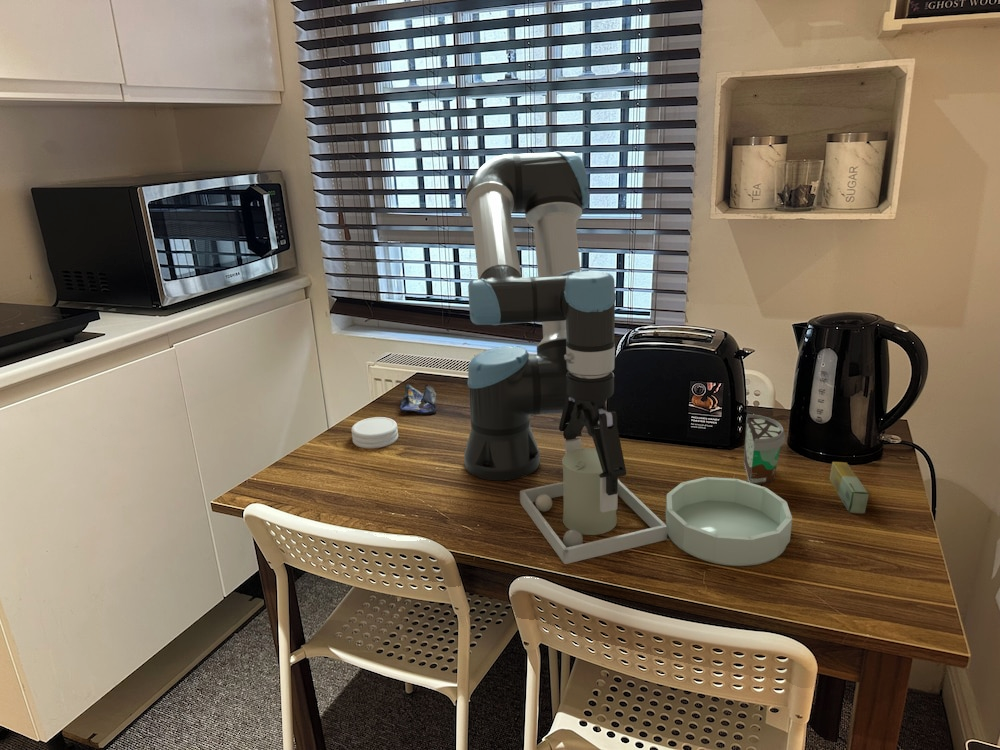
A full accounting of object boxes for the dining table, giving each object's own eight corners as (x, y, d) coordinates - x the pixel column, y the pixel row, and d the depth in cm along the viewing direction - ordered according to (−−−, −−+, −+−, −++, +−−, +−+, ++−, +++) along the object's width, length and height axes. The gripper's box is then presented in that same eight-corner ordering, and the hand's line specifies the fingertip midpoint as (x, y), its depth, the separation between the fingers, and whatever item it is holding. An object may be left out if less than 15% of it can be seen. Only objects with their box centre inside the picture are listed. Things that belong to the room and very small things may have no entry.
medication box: (866, 514, 119) (870, 493, 118) (849, 513, 120) (852, 493, 118) (843, 480, 131) (846, 461, 129) (828, 479, 131) (831, 460, 130)
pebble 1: (532, 508, 125) (532, 493, 124) (548, 504, 126) (548, 489, 125) (539, 516, 123) (538, 501, 122) (555, 512, 124) (554, 497, 123)
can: (551, 522, 121) (550, 459, 117) (583, 501, 127) (583, 440, 123) (596, 542, 115) (596, 476, 111) (627, 518, 121) (628, 455, 117)
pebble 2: (559, 545, 114) (559, 528, 113) (578, 540, 115) (577, 523, 114) (567, 555, 111) (567, 538, 110) (586, 551, 112) (586, 534, 111)
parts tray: (520, 502, 127) (519, 490, 126) (610, 483, 132) (610, 472, 132) (564, 564, 109) (564, 550, 109) (666, 539, 115) (667, 526, 114)
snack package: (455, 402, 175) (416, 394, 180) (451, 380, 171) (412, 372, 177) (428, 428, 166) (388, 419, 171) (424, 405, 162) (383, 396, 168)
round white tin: (345, 438, 157) (343, 424, 155) (385, 426, 162) (383, 412, 161) (365, 454, 149) (363, 439, 148) (406, 440, 155) (405, 426, 153)
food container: (786, 492, 127) (792, 441, 124) (750, 490, 128) (755, 440, 125) (775, 461, 138) (780, 414, 135) (742, 459, 140) (746, 412, 136)
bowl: (644, 514, 122) (645, 490, 120) (738, 493, 127) (740, 469, 126) (708, 577, 105) (710, 550, 103) (814, 550, 110) (817, 523, 109)
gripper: (538, 352, 122) (541, 464, 129) (604, 400, 99) (603, 532, 106) (578, 347, 124) (579, 456, 131) (651, 392, 101) (647, 522, 108)
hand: (590, 491), depth 118 cm, fingers open, 13 cm apart
